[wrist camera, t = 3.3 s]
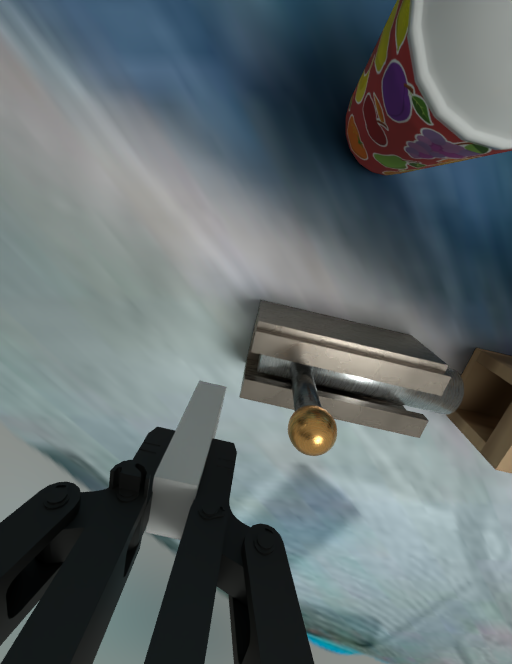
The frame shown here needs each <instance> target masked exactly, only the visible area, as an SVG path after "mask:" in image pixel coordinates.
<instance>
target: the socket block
mask: <svg viewBox="0 0 512 664" xmlns="http://www.w3.org/2000/svg"><path fill="white" fill-rule="evenodd" d="M461 378H462V380H463V384H464V395H463V399H462V402H461V404H460V406H459V407H458V408H457V409H456V410H455V411H454V412H453V413H451V414H446V415H447V417H448V418H449V419H450V420H451V421H452V422H453V423H454V424H455V425H456V427H457V428H458V429H459V430H460V431H461V432H462V433H463V434H464V435H465V437H466V438H467V439H468V440H469V441H470V442H471V443H472V444H473V445H474V446H475V448H476V449H477V450H478V451H479V452H480V453H481V454H482V455H483V456H484V458H485V459H486V460H487V461H488V462H489V463H490V464H491V465H492V466H493V467H494V469H495V470H499V471H504V472H508V473H512V356H509V355H505V354H501V353H497V352H493V351H488V350H484V349H480V348H476V349H475V351H474V353H473V355H472V356H471V358H470V360H469V362H468V364H467V366H466V368H465V370H464V371H463V373H462V375H461Z"/></svg>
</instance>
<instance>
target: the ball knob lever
mask: <svg viewBox="0 0 512 664" xmlns="http://www.w3.org/2000/svg"><path fill="white" fill-rule="evenodd" d="M257 371H258V372H262V373H266V374H271V375H275V376H279V377H284V378H288V379H291V385H292V393H293V401H294V409H295V412H294V413H293V415H292V416H291V418H290V420H289V424H288V434H289V438H290V440H291V442H292V444H293V445H294V447H295V448H296V449H297V450H298V451H300V452H301V453H303V454H306V455H310V456H318V455H322V454H324V453H326V452H328V451H329V450H330V449H331V448H332V446H333V445H334V443H335V441H336V437H337V427H336V423H335V421H334V419H333V417H332V416H331V414H330V413H329V412H328V411H326V410H325V409H323V408H322V407H321V404H320V400H319V396H318V392H317V389H316V385H319V386H323V387H327V388H332V389H336V390H341V391H345V392H349V393H354V394H358V395H362V396H367V397H371V398H376V399H380V400H384V401H389V402H393V403H397V404H402V405H406V406H411V407H415V408H419V409H424V410H428V411H432V412H437V413H441V414H451V413H453V412H454V411H455V410H456V409H457V408H458V407H459V406H460V404H461V402H462V399H463V395H464V384H463V380H462V378H461V376H460V374H459V373H458V372H456V371H455V370H451V369H446V371H445V372H446V373H448V374H449V375H450V376H451V379H450V381H449V383H448V385H447V386H446V388H445V390H444V392H443V394H442V396H439V395H435V394H430V393H426V392H422V391H417V390H413V389H409V388H404V387H400V386H396V385H391V384H387V383H383V382H378V381H374V380H370V379H365V378H361V377H357V376H352V375H348V374H344V373H339V372H335V371H331V370H326V369H322V368H318V367H313V366H309V365H305V364H300V363H296V362H292V361H287V360H283V359H279V358H274V357H270V356H266V355H261V354H260V356H259V362H258V368H257Z"/></svg>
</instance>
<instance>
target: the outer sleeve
mask: <svg viewBox="0 0 512 664" xmlns="http://www.w3.org/2000/svg"><path fill="white" fill-rule="evenodd" d="M260 354H261V355H266V356H270V357H274V358H279V359H283V360H287V361H292V362H296V363H300V364H305V365H309V366H313V367H318V368H322V369H326V370H331V371H335V372H339V373H344V374H348V375H352V376H357V377H361V378H365V379H370V380H374V381H378V382H383V383H387V384H391V385H396V386H400V387H404V388H409V389H413V390H417V391H422V392H426V393H430V394H435V395H439V396H442V394H443V392H444V390H445V388H446V386H447V385H448V383H449V381H450V379H451V376H450V375H449V374H448V373H446V372H445V371H446V369H447V367H448V365H447V364H446V363H445V362H444V361H442V360H441V359H440V358H439V357H437V356H436V355H435V354H434V353H432V352H431V351H430V350H429V349H428V348H426V347H425V346H424V345H423V344H421V343H420V342H419V341H418V340H416V339H415V338H414V337H413V336H411V335H407V334H403V333H398V332H394V331H390V330H386V329H382V328H377V327H373V326H369V325H365V324H360V323H356V322H352V321H348V320H344V319H339V318H335V317H331V316H327V315H322V314H318V313H314V312H310V311H306V310H301V309H297V308H293V307H289V306H285V305H280V304H276V303H272V302H268V301H263V300H261V302H260V306H259V310H258V314H257V318H256V323H255V327H254V331H253V335H252V339H251V343H250V347H249V351H248V355H247V360H246V364H245V370H244V375H243V381H242V386H241V392H240V398H244V399H249V400H253V401H258V402H262V403H267V404H271V405H275V406H280V407H284V408H289V409H293V410H295V409H294V401H293V393H292V385H291V379H288V378H284V377H279V376H275V375H271V374H266V373H262V372H258V371H257V368H258V362H259V356H260ZM316 389H317V392H318V396H319V400H320V404H321V407H322V408H323V409H325V410H326V411H328V412H329V413H330V414H331V416H332V417H333V419H338V420H342V421H347V422H351V423H355V424H360V425H364V426H369V427H373V428H378V429H382V430H387V431H391V432H395V433H400V434H404V435H409V436H413V437H418V438H420V436H421V434H422V432H423V430H424V428H425V427H426V425H427V423H428V420H427V418H426V417H425V416H424V415H423V414H419V413H415V412H411V411H406V409H405V408H404V406H403V405H402V404H397V403H393V402H389V401H384V400H380V399H376V398H371V397H367V396H362V395H358V394H354V393H349V392H345V391H341V390H336V389H332V388H327V387H323V386H319V385H316Z"/></svg>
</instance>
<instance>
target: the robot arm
mask: <svg viewBox="0 0 512 664" xmlns="http://www.w3.org/2000/svg"><path fill="white" fill-rule="evenodd" d="M225 391H226V387H224V386H220V385H216V384H211V383H207V382H203V381H199V383H198V385H197V387H196V389H195V391H194V393H193V395H192V397H191V400H190V402H189V404H188V406H187V408H186V410H185V412H184V414H183V416H182V418H181V421H180V423H179V425H178V427H177V429H176V431H174V430H170V429H166V428H161V427H156V428H155V429H154V430H152V431H151V432H149V433H148V435H147V437H146V438H145V440H144V442H143V443H142V445H141V447H140V448H139V451H138V452H137V453H136V455H135V457H134V458H133V460H127V461H123V462H121V463H119V464H117V465H115V466H114V467H113V468H112V470H111V471H110V482H109V488H107V489H104V490H100V491H92V492H80V489H79V487H78V486H76V485H75V484H74V483H70V482H58V483H55V484H52V485H49V486H47V487H46V488H44V489H42V490H41V491H39V492H38V493H37V494H36V495H34V496H33V497H32V498H31V499H29V500H28V501H27V502H26V503H24V504H23V505H22V506H21V507H20V508H18V509H17V510H16V511H14V512H13V513H12V514H11V515H9V516H8V517H7V518H6V519H5V520H3V521H2V522H1V523H0V645H1V644H2V643H3V642H4V641H5V640H6V639H7V637H8V636H9V635H10V634H11V632H13V630H14V629H15V628H16V627H17V626H18V625H19V623H20V622H21V621H22V620H23V619H24V618H25V616H26V615H27V614H28V613H29V612H30V611H31V610H32V608H33V607H34V606H35V605H36V604H37V603H38V601H39V600H40V601H39V603H38V604H37V606H36V608H35V609H34V611H33V612H32V614H31V616H30V617H29V619H28V620H27V622H26V624H25V625H24V627H23V629H22V630H21V632H20V633H19V635H18V637H17V638H16V640H15V641H14V643H13V645H12V647H11V648H10V650H9V651H8V653H7V655H6V656H5V658H4V659H3V661H2V662H1V664H93V661H94V658H95V656H96V654H97V651H98V649H99V646H100V644H101V642H102V639H103V637H104V634H105V632H106V629H107V627H108V624H109V622H110V619H111V617H112V615H113V612H114V610H115V607H116V605H117V602H118V600H119V598H120V595H121V593H122V590H123V588H124V585H125V583H126V581H127V578H128V576H129V573H130V571H131V568H132V566H133V564H134V561H135V558H136V556H137V554H138V551H139V549H140V544H141V539H142V535H143V533H144V531H145V528H146V526H147V528H146V532H147V533H151V534H156V535H161V536H165V537H170V538H174V539H179V540H181V541H180V544H179V547H178V551H177V554H176V558H175V561H174V565H173V568H172V571H171V575H170V578H169V581H168V584H167V588H166V591H165V595H164V598H163V601H162V605H161V608H160V611H159V615H158V618H157V621H156V625H155V628H154V632H153V635H152V638H151V642H150V645H149V649H148V652H147V655H146V659H145V662H144V664H204V662H205V656H206V649H207V643H208V637H209V631H210V624H211V617H212V611H213V606H214V599H215V593H216V587H219V588H220V589H222V590H223V591H224V592H226V593H227V594H229V607H230V619H231V632H232V644H233V657H234V664H314V661H313V657H312V653H311V649H310V645H309V641H308V637H307V633H306V629H305V625H304V622H303V618H302V614H301V610H300V606H299V602H298V598H297V594H296V590H295V586H294V582H293V578H292V574H291V571H290V567H289V563H288V559H287V555H286V551H285V547H284V543H283V541H282V538H281V536H280V534H279V533H278V532H277V531H276V530H275V529H274V528H272V527H270V526H269V525H265V524H256V525H253V526H252V527H251V528H250V527H249V526H247V525H245V524H244V523H242V522H241V521H239V520H238V519H237V518H236V517H235V516H234V515H233V513H232V511H231V509H230V506H229V498H230V492H231V485H232V479H233V473H234V467H235V460H236V454H237V451H236V448H235V445H234V443H231V442H226V441H222V440H218V439H214V438H215V434H216V430H217V427H218V422H219V418H220V413H221V409H222V404H223V400H224V396H225Z"/></svg>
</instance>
